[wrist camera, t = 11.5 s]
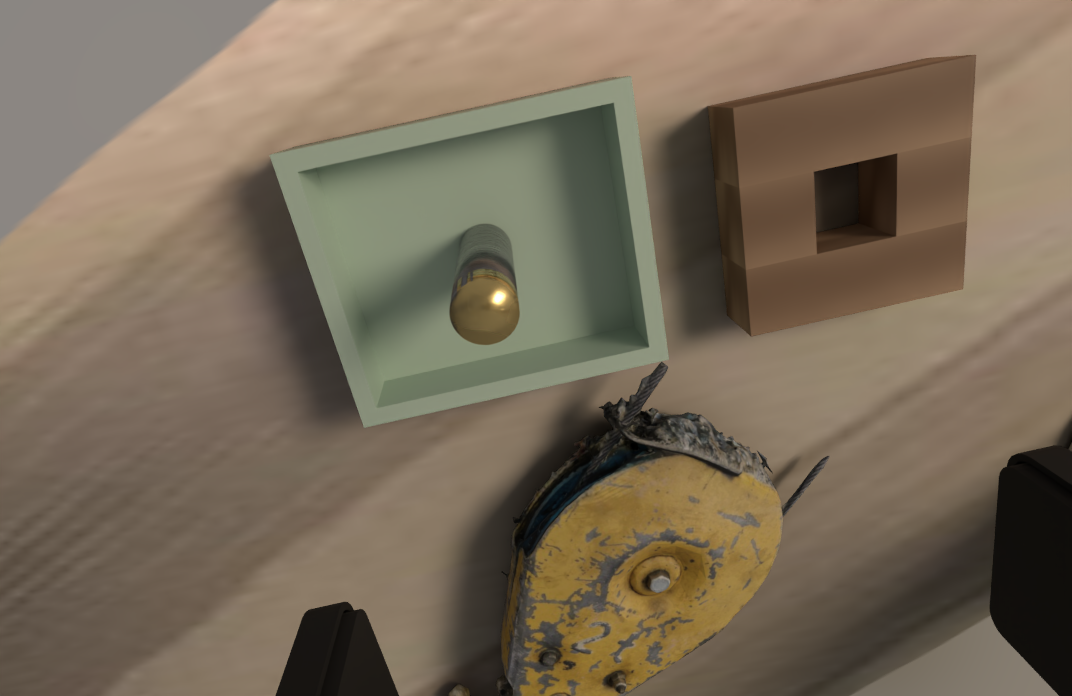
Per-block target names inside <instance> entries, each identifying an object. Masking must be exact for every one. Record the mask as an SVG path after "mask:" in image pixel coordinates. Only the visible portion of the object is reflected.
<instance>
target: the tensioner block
mask: <svg viewBox="0 0 1072 696" xmlns="http://www.w3.org/2000/svg"><path fill="white" fill-rule="evenodd" d="M975 66H976V55H966V56H951V57H936V58H925V59H921V60H916V61H912V62H907V63H903V64H898V65H894V66H889V67H884V68H880V69H875V70H871V71H866V72H862V73H857V74H853V75H848V76H843V77H839V78H834V79H830V80H825V81H821V82H816V83H811V84H807V85H802V86H798V87H793V88H789V89H784V90H780V91H775V92H770V93H766V94H761V95H757V96H752V97H748V98H743V99H738V100H734V101H729V102H725V103H720V104H716V105H711V106H708V113H709V123H710V134H711V145H712V156H713V167H714V177H715V188H716V199H717V210H718V221H719V231H720V242H721V253H722V264H723V274H724V285H725V296H726V307H727V315H728V316H729V317H730V318H731V319H732V320H733V321H734V322H735V323H737V324H738V325H739V326H740V327H741V328H742V329H743V330H744V331H746V332H747V333H748V334H749V335H750V336H755V335H760V334H764V333H769V332H773V331H778V330H782V329H787V328H791V327H796V326H800V325H805V324H809V323H813V322H818V321H822V320H827V319H831V318H836V317H840V316H845V315H849V314H854V313H858V312H863V311H867V310H872V309H876V308H881V307H885V306H890V305H894V304H899V303H903V302H908V301H912V300H916V299H921V298H925V297H930V296H934V295H939V294H943V293H948V292H952V291H957V290H961V289H963V282H964V264H965V246H966V228H967V210H968V192H969V174H970V156H971V138H972V120H973V102H974V84H975ZM856 162H858V189H859V224H854V225H850V226H845V227H841V228H836V229H832V230H827V231H822V232H818V233H816V216H815V188H814V172H815V171H819V170H824V169H828V168H833V167H837V166H842V165H847V164H851V163H856Z"/></svg>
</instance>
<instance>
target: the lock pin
mask: <svg viewBox="0 0 1072 696" xmlns="http://www.w3.org/2000/svg"><path fill="white" fill-rule="evenodd" d="M449 316H450V320H451V324H452V326H453V328H454V329H455V331H456V332H457V333H458V334H459V335H460V336H461V337H462V338H464V339H465V340H467V341H469V342H471V343H474V344H478V345H491V344H496V343H498V342H501V341H503V340H504V339H506V338H507V337H508V336H509V335H511V333H512V332H513V331H514V330H515V328H516V326H517V324H518V321H519V316H520V309H519V301H518V293H517V285H516V277H515V269H514V261H513V253H512V245H511V241H510V239H509V237H508V235H507V234H506V233H505V232H504V231H503V230H502V229H501V228H499V227H497V226H495V225H492V224H479V225H475V226H473V227H471V228H470V229H468V230H467V231H466V232H465V233H464V235H463V236H462V238H461V241H460V244H459V250H458V256H457V263H456V269H455V276H454V282H453V289H452V295H451V302H450V309H449Z"/></svg>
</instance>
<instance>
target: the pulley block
mask: <svg viewBox="0 0 1072 696" xmlns="http://www.w3.org/2000/svg"><path fill="white" fill-rule="evenodd" d="M667 369H668V366H667V365H665V364H664V363H663V362H661V363H660V364H659V365H658V367H657V368H656V369H655V370H654V371H653V373H652V374H651V375H649V376H647V377H645V378H643V379H642V381H641V384H640V386H639V389H638V392H637V393H636V395H631V396H630V399H629V401H628V402H626V401H625V400H624V399H623V398H621V399H620V400H619V402H618V403H617V404H615V405H613V404H612V403H611V402H607V403H606V404H605V405H604V406H601V407H599V408H602V409H603V410H604V417H605V418H606V419H607V420H608V422H609V423H610V424H611V425H612V426H613V430H612V431H609V430H608V431H607V433H606V434H605V435H603V436H595V437H594V438H593V439H591V438H590V436H589V435H588V436H586V437H584V438H583V439H582V441H578V442H575V444H574V445H575V446H580V448H579V450H578V451H577V452H576V453H574V454H572V455H571V458H569V459H568V460H566V462H565V463H564V465H563V466H562V467H560V468H559V469H558V470H557V471H556V472H552V475H551V477H550V479H549V480H548V481H547V482H546V484H545V485H544V486H543V487H542V488H541V490H540V491H538V490H537V489H536V493H535V496H534V498H533V499H532V500H531V502H530V503H529V504H528V506H527V507H526V508H525V510H524V511H523V513H522V515H521V516H520V518H519V519H516V518H514V517H513V520H514V523H518V524H517V526H516V527H515V529H514V532H513V534H512V538H511V549H512V558H511V565H510V573H509V574H505V573H504V572H503V571H502V573H503V574H505V575H506V576H507V579H508V581H509V583H508V589H507V595H506V602H505V608H504V614H503V621H502V627H501V659H502V665H503V670H504V675H502V676H501V677H500V678H498V680H497V682H496V687H497V691H498V694H499V696H625V695H626V694H628V693H629V692H631V691H632V690H633V689H635V688H637V687H638V686H640V685H641V684H643V683H644V682H646V681H647V680H649V679H650V678H652V677H653V676H655V675H656V674H658V673H660V672H661V671H663V670H664V669H666V668H667V667H669V666H670V665H672V664H673V663H675V662H676V661H678V660H680V659H681V658H683V657H684V656H686V655H687V654H689V653H690V652H692V651H693V650H695V649H696V648H698V647H699V646H701V645H703V644H704V643H706V642H707V641H709V640H710V639H711V638H713V637H714V636H715V635H716V634H718V633H719V632H721V631H722V630H723V629H724V627H725V626H726V625H727V624H728V623H729V621H730V620H731V619H732V618H733V617H734V616H735V615H736V614H737V613H738V612H739V611H740V609H741V608H742V607H743V606H744V605H745V604H746V603H747V602H748V601H749V600H750V599H751V598H752V597H753V595H754V594H755V593H756V592H757V590H758V589H759V587H760V586H761V584H762V583H763V581H764V580H765V578H766V577H767V575H768V573H769V571H770V569H771V567H772V564H773V562H774V560H775V558H776V556H777V553H778V550H779V546H780V541H781V536H782V523H783V517H784V516H785V514H786V513H787V512H788V510H789V509H790V508H791V507H792V506H793V504H794V503H795V502H796V501H797V500H798V499H799V498H800V496H801V495H802V494H803V492H804V491H805V490H806V489H807V487H808V486H809V485H810V483H811V482H812V481H813V479H814V478H815V477H816V476H817V475H818V473H819V472H820V471H821V470H822V469H823V468H824V466H825V464H826V462H827V460H828V458H829V457H830V456H827V457H825V458H823V459H822V460H821V461H820V462H819V463H818V464H817V465H816V466H815V467H814V468H813V469H812V471H811V472H810V473H809V475H808V476H807V477H806V479H805V480H804V481H803V483H802V484H801V485H800V487H799V488H798V489H797V490H796V492H795V493H794V494H793V495H792V497H791V498H790V499H789V500H788V502H787V503H785V504H784V505H783V506H782V507H781V501H780V498H779V495H778V493H777V491H776V489H775V487H774V486H773V484H772V482H771V480H770V478H769V477H768V475H767V473H766V472H765V470H764V467H765V466H766V467H767V468H768V469H769V470H770V468H769V466H768V462H767V459H766V458H765V457H764V456H763V455H762V454H761V453H759V452H758V451H757V452H758V454H759V455H760V457H761V459H762V461H763V462H762V463H760V462H759V458H758V457H757V454H756V453H751V452H750V450H749V448H750V447H744V446H742V445H741V443H736V442H735V441H734V439H733V437H732V436H731V437H728V438H726V437H724V436H723V435H722V434H723V433H722V432H721V433H719V432H718V431H716V430H715V428H714V426H713V425H712V423H710V422H709V421H708V420H707V419H705V418H704V417H703V416H702V415H696V414H691V413H685V414H682V415H667V414H659V413H657V412H658V410H657V409H654V408H651V409H649V411H646V412H644V411H641V409H642V406H643V405H644V403H645V402H646V400H647V399H648V397H649V396H650V395H651V393H652V392H653V390H654V389H655V387H656V386H657V385H658V383H659V382H660V380H661V379H662V378H663V376H664V375H665V373H666V371H667ZM770 471H771V470H770ZM771 472H772V471H771ZM448 696H470V693H469V689H468V688H465V687H464V686H462V685H457V686H455V687H454V688H453V689H452V690H451V691H450V692H449V695H448Z"/></svg>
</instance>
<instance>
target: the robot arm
mask: <svg viewBox="0 0 1072 696" xmlns="http://www.w3.org/2000/svg"><path fill="white" fill-rule="evenodd" d="M990 614H991V617H992V620H993V622H994V624H995V626H996V628H997V630H998V631H999V632H1000V634H1001V635H1002V636H1003V637H1004V638H1005V639H1006V640H1007V642H1008V643H1010V645H1011V646H1012V647H1013V648H1014V649H1015V650H1016V651H1017V652H1018V653H1019V654H1020V655H1021V656H1022V657H1023V658H1024V659H1025V660H1026V661H1027V662H1028V664H1029V665H1031V667H1032V668H1033V669H1034V670H1035V671H1036V672H1037V673H1038V674H1039V675H1040V676H1041V677H1042V678H1043V679H1044V680H1045V681H1046V682H1047V683H1048V684H1049V686H1051V688H1052V689H1053V690H1054V691H1055V692H1056V693H1057V694H1058V695H1059V696H1072V442H1071V445H1070V447H1069V449H1066V448H1064V447H1062V446H1050V447H1046V448H1041V449H1036V450H1032V451H1027V452H1023V453H1018V454H1015V455H1013V456H1011V458H1010V459H1009V460H1008V464H1007V467H1005V468H1003V469H1002V470H1001V472H1000V475H999V485H998V499H997V513H996V527H995V540H994V554H993V568H992V582H991V596H990ZM276 696H399V695H398V692H397V690H396V687H395V684H394V682H393V679H392V677H391V674H390V672H389V669H388V667H387V664H386V662H385V659H384V657H383V654H382V652H381V649H380V647H379V644H378V642H377V639H376V637H375V634H374V632H373V629H372V627H371V624H370V622H369V619H368V617H367V615H366V613H365V611H364V610H363V609H359V610H353V608H352V606H351V605H350V604H349V603H348V602H342V603H337V604H333V605H328V606H324V607H319V608H315V609H310V610H308V611H307V612H305V614H304V616H303V618H302V621H301V624H300V627H299V629H298V632H297V635H296V638H295V641H294V644H293V647H292V650H291V653H290V656H289V658H288V661H287V664H286V667H285V670H284V673H283V676H282V679H281V682H280V685H279V687H278V690H277V693H276Z"/></svg>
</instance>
